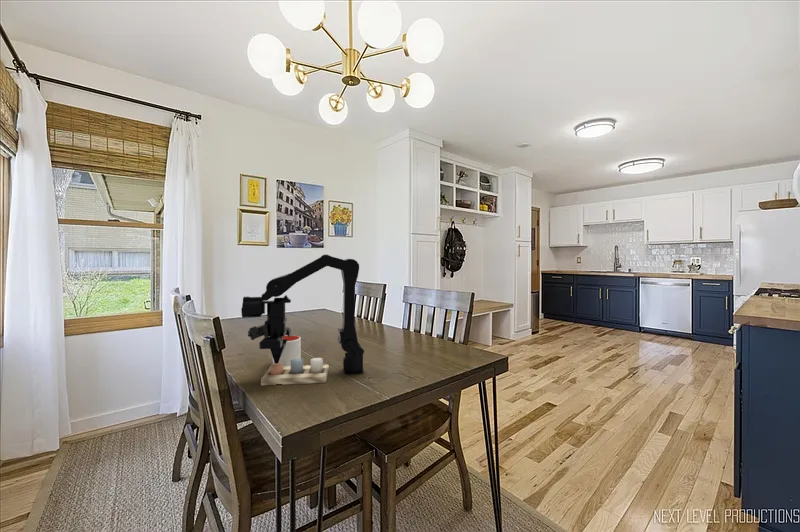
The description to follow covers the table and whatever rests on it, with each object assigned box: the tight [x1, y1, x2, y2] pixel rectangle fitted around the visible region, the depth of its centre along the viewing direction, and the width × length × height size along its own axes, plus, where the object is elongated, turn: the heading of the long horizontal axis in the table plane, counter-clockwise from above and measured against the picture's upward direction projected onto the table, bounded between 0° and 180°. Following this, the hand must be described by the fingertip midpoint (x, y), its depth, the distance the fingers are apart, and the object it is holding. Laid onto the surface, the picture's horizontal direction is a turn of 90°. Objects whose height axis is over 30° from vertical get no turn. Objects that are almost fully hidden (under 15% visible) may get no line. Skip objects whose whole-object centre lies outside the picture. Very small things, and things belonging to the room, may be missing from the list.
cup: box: [271, 334, 302, 366], centre depth 128 cm, size 10×10×10 cm
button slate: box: [291, 358, 304, 374], centre depth 115 cm, size 4×4×4 cm
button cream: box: [310, 357, 324, 373], centre depth 116 cm, size 4×4×4 cm
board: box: [260, 364, 330, 386], centre depth 115 cm, size 20×12×2 cm, turn 97°
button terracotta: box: [269, 363, 283, 375], centre depth 114 cm, size 4×4×4 cm
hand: (276, 363), depth 114 cm, fingers closed
